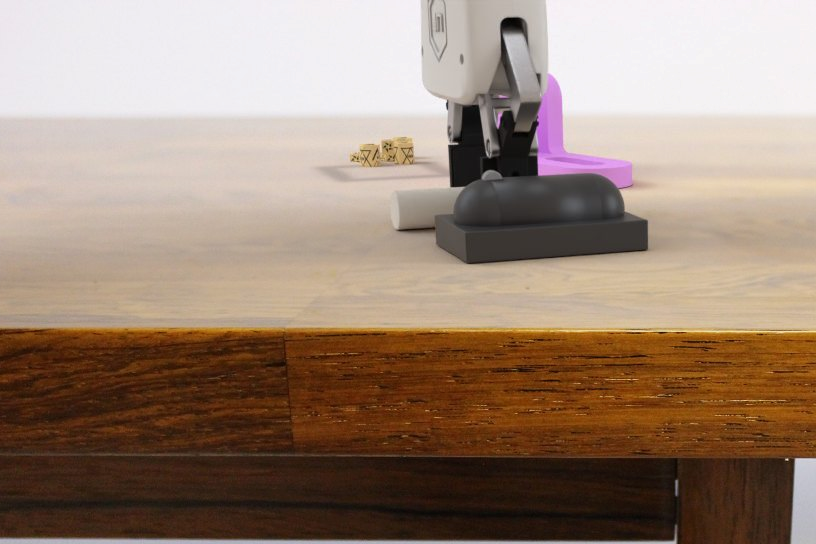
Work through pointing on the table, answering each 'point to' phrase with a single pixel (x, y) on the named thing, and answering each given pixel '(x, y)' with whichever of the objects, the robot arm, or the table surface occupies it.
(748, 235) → the table surface
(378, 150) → the dice set
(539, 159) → the bracket
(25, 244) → the table surface
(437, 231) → the mouse
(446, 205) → the pen
